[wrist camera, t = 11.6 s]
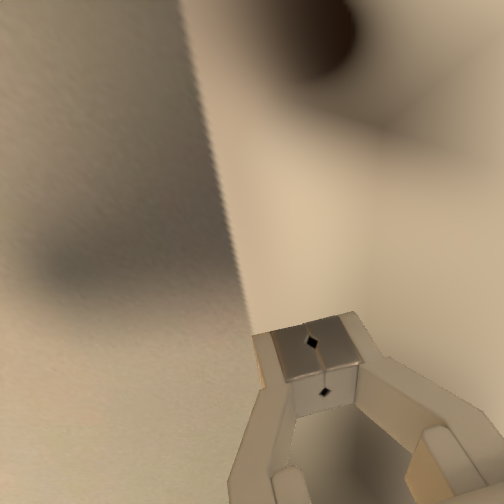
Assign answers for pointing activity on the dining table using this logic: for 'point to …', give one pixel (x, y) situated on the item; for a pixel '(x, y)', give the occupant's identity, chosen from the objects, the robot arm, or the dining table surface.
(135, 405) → the dining table surface
